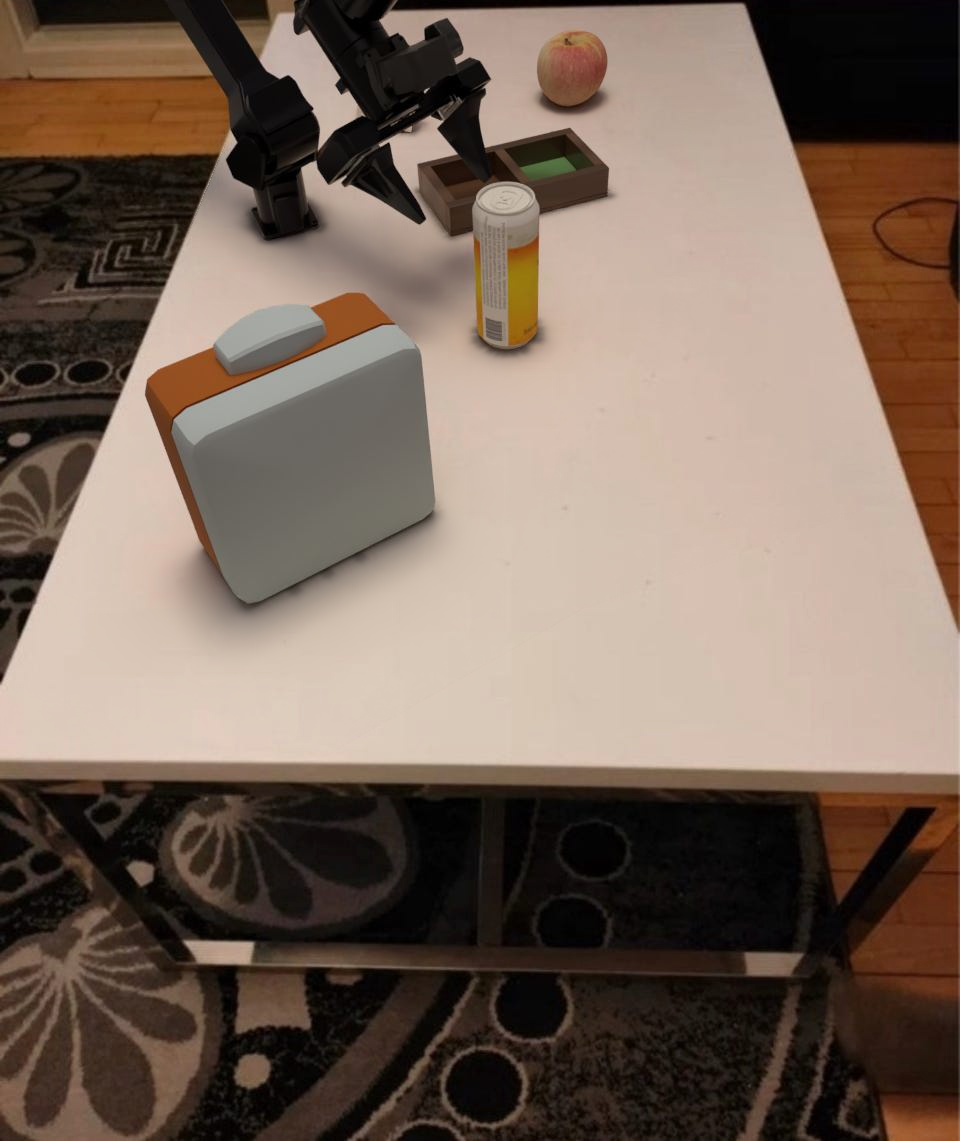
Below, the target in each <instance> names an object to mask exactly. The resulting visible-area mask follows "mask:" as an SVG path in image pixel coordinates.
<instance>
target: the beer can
mask: <svg viewBox="0 0 960 1141" xmlns="http://www.w3.org/2000/svg"><path fill="white" fill-rule="evenodd" d="M539 210H540V208H539V204H538V202H537V200H536V198H535V194H534V192H533V191H532V189H530V188H529V187H528V186H526V185H523V184H520V183H516V182H498V183H493V184H490V185H488V186H486V187H484V188H482V189H481V190H480V191H479V192H478V194H477V197H476V201H475V203H474V205H473V208H472V215H473V231H472V235H473V259H474V261H473V262H474V285H475V306H476V307H475V309H476V310H475V311H476V330H477V333H478V336H480V338H482V340H484V341H485V342H486V343H487V345H488V346H489V345H490V346H491V347H492V348H496V349H500V350H513V349H514V350H515V349H518V348H521V347H523V346H525V345H526V344H528V343H529V342H530V341H531V340H532V338H533V337H535V335H537V332H538V330H539V328H538V327H539V273H540V272H539V268H540V267H539V266H540V265H539V264H540V213H539Z"/></svg>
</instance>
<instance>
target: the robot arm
mask: <svg viewBox="0 0 960 1141" xmlns="http://www.w3.org/2000/svg"><path fill="white" fill-rule="evenodd" d="M164 1H165V3H166V4H167V6H168V7H169V9H170V10H171V12H172V13H173V15H174V16H175V18H176V20H177V21H178V23H179V25H180V26H181V28H182V29H183V31H184V32H185V34H186V36H187V37H188V38H189V40H190V42H191V43H192V44H193V46H194V48H195V49H196V51H197V53H198V54H199V56H200V57H201V59H202V61H203V62H204V64H205V65H206V66H207V68H208V70H209V71H210V72H211V74H212V76H213V77H214V79H215V81H216V82H217V84H218V85H219V87H220V88H221V90H222V92H223V93H224V95H225V97H226V99H227V104H228V118H229V120H228V121H229V129H230V132H231V134H232V135H233V138H234V139H235V141H236V144H235V145H234V147H233V148H232V149H231V151H230V152H229V154H228V155H227V157H226V158H225V163H226V165H227V168H228V169H229V171H230V174H231V176H232V178H233V179H234V180H235V181H237V182H240V183H241V184H243V185H246V186H248V187H249V188H251V189H252V190H253V195H254V200H255V205H256V206H254V207H252V208H251V209H250V212H251V215H252V216H253V219H254V221H255V224H256V225H257V227H258V229H259V231H260V233H261V235H262V237H263V239H265V240H270V239H275V238H279V237H282V236H286V235H290V234H295V233H299V232H303V231H306V230H307V231H308V230H311V229H316V228H318V227H319V226H320V222H319V219H318V218H317V216H316V214H315V212H314V210H313V209H312V206H311V205H310V204H309V202H308V198H307V197H308V196H307V192H306V186H305V181H304V176H303V168H304V167H306V166H307V165H309V164H311V163H314V162H315V163H316V169H317V171H318V172H319V174H320V175H321V177H322V178H323V179H324V181H325V183H326V185H328V186H331V185H333V184H334V183H336V182H338V181H340V180H341V179H343V178H344V179H343V180H342V181H341V182H340V184H341V185H342V187H344V188H348V187H349V186H352V187H354V188H356V189H358V190H360V191H362V192H364V193H366V194H368V195H370V196H372V198H373V197H374V198H375V199H377V200H379V201H380V202H382V203H383V204H385V205H387V206H388V207H390V208H392V209H393V210H395V211H396V212H398V213H399V214H401V215H403V216H404V217H405V218H407V219H409V220H411V221H412V222H414V223H415V224H416V225H422V224H424V223H425V221H427V216H426V214H425V213H424V211H423V209H422V207H421V205H420V203H419V201H418V199H417V198H416V197H415V195H414V194H413V192H412V191H411V189H410V187H409V186H408V185H407V183H406V181H405V180H404V178H403V176H402V175H401V173H400V172H399V171H398V169H397V168H396V167H397V166H395V162H394V157H393V153H392V152H393V151H392V147H391V146H392V145H391V142H388V140H389V139H392V138H394V137H395V136H397V135H399V134H400V133H402V132H405V131H404V130H406V129H407V128H409V127H411V126H412V127H413V126H414V125H416V124H419V123H420V122H423V120H425V119H427V118H428V117H429V118H430V117H431V118H434V119H436V120H438V121H442V122H441V123H440V124H439V125H438V126H437V127H436V129H437V131H438V132H439V134H440V135H441V136H442V137H443V139H444V140H445V141H446V142H447V143H448V144H449V145H450V146H451V148H452V149H453V150H454V152H455V153H456V155H457V154H458V155H459V156H460V157H461V159H462V160H463V161H464V162H465V163H466V165H467V166H468V167H469V168H470V169H471V171H472V172H473V173H474V174H475V175H476V176H477V177H478V178H479V179H480V180H481V181H482V182H483V183H486V182H488V181H489V180H490V179H491V178H492V175H491V171H490V167H489V163H488V159H487V155H486V150H485V148H486V146H485V143H484V142H485V141H484V138H483V134H482V128H481V121H480V111H481V110H480V109H481V104H482V100H483V99H484V98H485V97H486V95H487V89H486V86H487V85H488V84H489V83H490V82H491V81H492V79H493V78H492V77H491V76H490V74H489V72H488V71H487V70H486V67H485V66H484V64H483V63H482V61H481V60H479V59H476V58H473V57H472V56H469V57H467V58H466V59H464V60H462V61H460V62H458V63H457V62H456V59H457V58H458V57H460V56H462V55H463V54H464V50H465V48H464V44H463V42H462V38H461V35H460V33H459V31H458V30H457V29H456V28H455V26H454V25H453V23H452V22H451V21H450V19H449V18H448V17H445V18H442V19H439V20H437V21H434V22H433V23H431V24H428V25H426V26H425V27H424V29H423V32H424V33H423V34H424V39H423V40H420V41H418V42H416V43H414V44H411V45H410V44H409V43H408V42H407V40H406V38H405V37H404V36H403V35H401V34H400V33H399V32H396V33H393V34H392V35H390V34H389V33H388V31H387V30H386V28H385V26H384V25H383V23H382V22H381V20H382V19H384V18H385V17H386V16H387V15H388V14H389V12H390V11H391V10H392V9H393V7H394V6H395V5H396V3H397V2H398V0H294V1H293V7H294V15H293V19H292V26H293V32H294V34H295V35H296V36H300V35H302V34H304V33H306V32H309V31H310V33H311V35H312V36H313V39H314V40H315V41H316V43H317V44H318V45H319V47H320V49H321V50H322V52H323V53H324V55H325V57H326V58H327V60H328V61H329V63H330V65H331V66H332V67H333V69H334V71H335V72H336V73H337V75H338V76H339V79H338V80H337V81H336V83H335V84H334V87H335V88H336V89H337V91H338V92H339V94H340V95H341V96H342V95H345V94H346V93H348V92H349V93H350V94H349V95H351V97H352V98H353V100H354V101H355V103H356V104H357V107H358V106H359V108H360V109H361V111H362V112H363V114H364V115H365V116H360V117H358V118H357V119H356V118H355V119H352V120H351V121H349V122H348V123H345V124H344V125H342V126H340V127H338V128H336V129H335V130H333V132H332V133H331V134H330V135H329V137H327V139H326V140H325V142H324V143H323V144H322V145H321V147H319V146H320V145H319V144H320V136H321V126H320V123H319V120H318V118H317V115H316V114H315V113H314V107H313V105H312V104H311V103H310V102H309V101H308V100H307V99H306V97H305V95H304V94H303V92H302V90H301V88H300V86H299V85H298V82H297V81H296V79H294V78H293V77H292V76H291V75H290V74H287V75H284V76H283V77H280V78H279V77H278V76H276V75H274V74H273V73H271V72H269V71H268V70H267V69H266V68H265V67H264V65H263V63H262V62H261V60H260V59H259V57H258V55H257V54H256V52H255V50H254V49H253V48H252V46H251V44H250V43H249V41H248V40H247V38H246V36H245V35H244V33H243V31H242V29H241V28H240V26H239V25H238V23H237V22H236V20H235V18H234V17H233V15H232V14H231V12H230V10H229V9H228V7H227V6H226V4H225V2H224V1H223V0H164ZM413 112H415V113H413ZM395 122H397V123H395ZM394 123H395V124H394ZM386 141H387V142H386ZM384 142H385V144H383V143H384ZM381 144H382V145H381ZM380 145H381V146H380Z"/></svg>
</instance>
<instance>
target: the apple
mask: <svg viewBox="0 0 960 1141" xmlns="http://www.w3.org/2000/svg"><path fill="white" fill-rule="evenodd" d="M607 69H608V53H607V49H606V47H605V45H604V43H603V41H602V40H601V38H599V36H597V35H596V34H594V33H591V32H589V31H586V30H580V29H568V30H564V31H562V32H558V33H557V34H555V35H553V36H551V37H550V38H549V39H548V40H547V41H545V43H544V44H543V45H542V47H541V48H540V50H539V52H538V56H537V62H536V74H537V80H538V85H539V87H540V90H541V91H542V93H543V94H544V95H545V96H546V97H547V98H548V99H549V100H550V101H551V102H553V103H554V104H557V105H559V106H563V107H573V106H576V105H580V104H583V103H584V102H586V101H587V100H589V99H590V98H591V97H593V95H594V94H596V92H597V91H598V90H599V89H600V87H601V85H602V83H603V81H604V79H605V77H606V73H607Z"/></svg>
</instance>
